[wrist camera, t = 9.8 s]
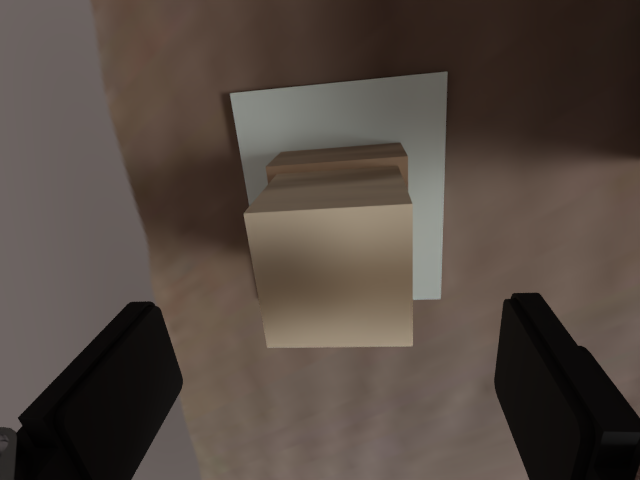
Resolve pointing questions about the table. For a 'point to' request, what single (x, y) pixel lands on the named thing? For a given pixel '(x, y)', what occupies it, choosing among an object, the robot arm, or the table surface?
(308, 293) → the maple cube
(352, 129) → the board
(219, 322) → the table surface
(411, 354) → the table surface
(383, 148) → the walnut block
